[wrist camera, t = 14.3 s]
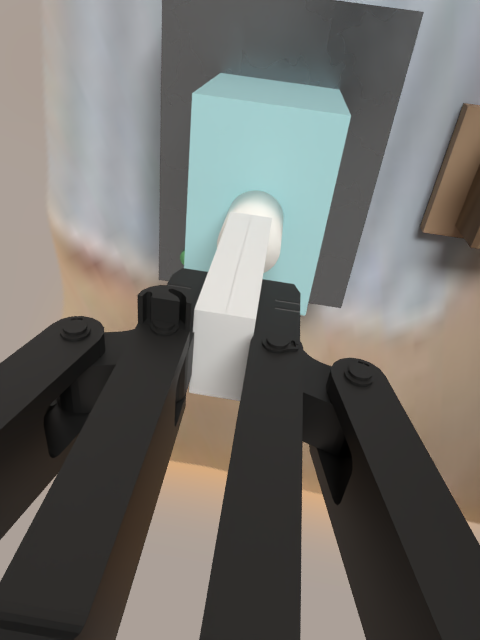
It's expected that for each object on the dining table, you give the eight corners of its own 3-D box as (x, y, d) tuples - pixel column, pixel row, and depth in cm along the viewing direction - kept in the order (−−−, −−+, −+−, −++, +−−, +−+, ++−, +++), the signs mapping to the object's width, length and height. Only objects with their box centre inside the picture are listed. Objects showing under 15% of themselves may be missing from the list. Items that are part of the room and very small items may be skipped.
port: (400, 12, 26) (424, 12, 21) (335, 265, 35) (341, 310, 30) (189, -16, 26) (160, -23, 21) (179, 241, 35) (157, 281, 30)
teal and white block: (335, 79, 26) (358, 133, 15) (305, 227, 31) (305, 353, 20) (231, 65, 26) (173, 106, 15) (218, 214, 31) (167, 331, 20)
